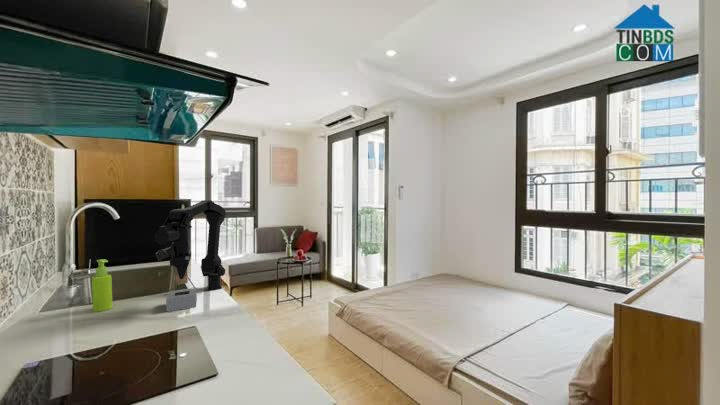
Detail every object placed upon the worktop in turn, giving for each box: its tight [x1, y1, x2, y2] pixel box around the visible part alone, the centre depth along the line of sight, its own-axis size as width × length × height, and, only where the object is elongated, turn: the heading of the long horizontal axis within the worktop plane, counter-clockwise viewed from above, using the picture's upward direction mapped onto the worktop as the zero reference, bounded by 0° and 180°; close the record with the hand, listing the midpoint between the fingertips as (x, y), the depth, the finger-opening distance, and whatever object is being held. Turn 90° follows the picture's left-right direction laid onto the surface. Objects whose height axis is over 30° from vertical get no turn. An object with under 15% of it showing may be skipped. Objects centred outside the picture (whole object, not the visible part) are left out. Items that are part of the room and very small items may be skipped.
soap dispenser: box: [91, 258, 113, 313], centre depth 117 cm, size 6×7×20 cm
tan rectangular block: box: [174, 266, 189, 286], centre depth 120 cm, size 3×4×7 cm
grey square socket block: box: [165, 287, 198, 312], centre depth 120 cm, size 10×10×5 cm
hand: (181, 278), depth 120 cm, fingers closed on tan rectangular block, 3 cm apart
